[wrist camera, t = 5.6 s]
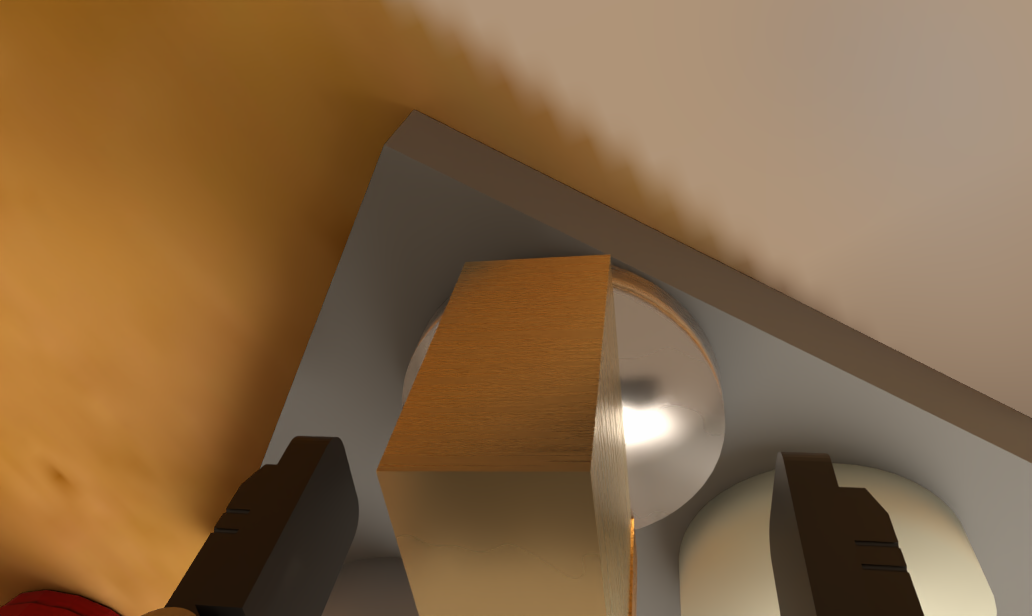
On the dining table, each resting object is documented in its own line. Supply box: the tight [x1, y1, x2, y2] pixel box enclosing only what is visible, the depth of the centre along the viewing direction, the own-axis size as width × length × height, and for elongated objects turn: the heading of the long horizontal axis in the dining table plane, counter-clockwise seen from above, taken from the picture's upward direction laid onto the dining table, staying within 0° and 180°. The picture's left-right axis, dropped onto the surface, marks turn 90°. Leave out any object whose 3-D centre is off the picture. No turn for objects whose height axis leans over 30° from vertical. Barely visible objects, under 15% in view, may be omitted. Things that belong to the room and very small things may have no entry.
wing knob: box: [376, 254, 725, 616], centre depth 13 cm, size 7×6×6 cm
